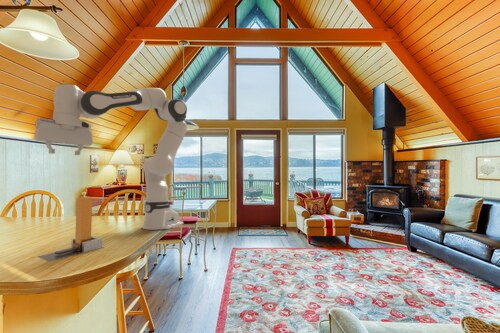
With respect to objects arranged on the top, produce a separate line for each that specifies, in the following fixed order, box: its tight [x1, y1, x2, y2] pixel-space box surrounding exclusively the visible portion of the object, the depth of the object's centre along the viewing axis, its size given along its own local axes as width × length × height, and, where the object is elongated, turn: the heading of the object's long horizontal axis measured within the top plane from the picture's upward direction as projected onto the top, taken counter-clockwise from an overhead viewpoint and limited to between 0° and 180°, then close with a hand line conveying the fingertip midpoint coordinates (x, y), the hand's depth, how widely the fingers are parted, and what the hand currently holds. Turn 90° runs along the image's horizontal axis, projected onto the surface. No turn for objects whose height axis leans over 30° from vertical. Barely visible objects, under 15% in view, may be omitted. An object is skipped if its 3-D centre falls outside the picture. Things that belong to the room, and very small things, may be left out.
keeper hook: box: [70, 235, 103, 253], centre depth 91 cm, size 6×9×4 cm
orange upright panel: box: [54, 196, 93, 255], centre depth 87 cm, size 11×5×19 cm, turn 151°
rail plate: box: [37, 246, 104, 262], centre depth 86 cm, size 17×9×1 cm, turn 151°
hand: (65, 154), depth 102 cm, fingers open, 8 cm apart
